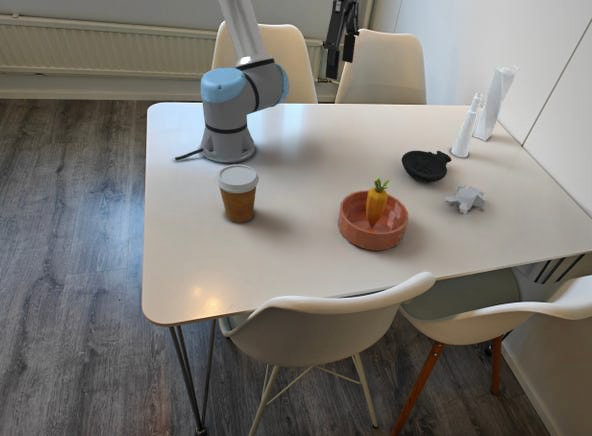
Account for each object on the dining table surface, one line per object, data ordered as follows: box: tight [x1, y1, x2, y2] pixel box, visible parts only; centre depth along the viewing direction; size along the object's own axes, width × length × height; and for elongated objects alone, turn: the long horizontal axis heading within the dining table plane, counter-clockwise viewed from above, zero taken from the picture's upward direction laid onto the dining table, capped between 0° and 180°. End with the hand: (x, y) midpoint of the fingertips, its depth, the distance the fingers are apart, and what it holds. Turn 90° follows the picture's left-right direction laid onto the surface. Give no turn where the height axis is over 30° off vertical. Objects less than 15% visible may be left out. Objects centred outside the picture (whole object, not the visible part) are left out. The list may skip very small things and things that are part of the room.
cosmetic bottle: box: [450, 92, 483, 158], centre depth 136 cm, size 6×6×22 cm
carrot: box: [366, 177, 391, 227], centre depth 98 cm, size 5×5×15 cm
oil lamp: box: [401, 150, 452, 184], centre depth 127 cm, size 15×20×5 cm
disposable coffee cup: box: [215, 163, 260, 223], centre depth 97 cm, size 10×10×12 cm
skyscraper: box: [472, 64, 519, 142], centre depth 148 cm, size 8×8×28 cm
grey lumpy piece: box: [442, 185, 487, 215], centre depth 117 cm, size 10×5×15 cm
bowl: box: [337, 189, 409, 251], centre depth 102 cm, size 17×17×6 cm
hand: (339, 69), depth 100 cm, fingers open, 13 cm apart
